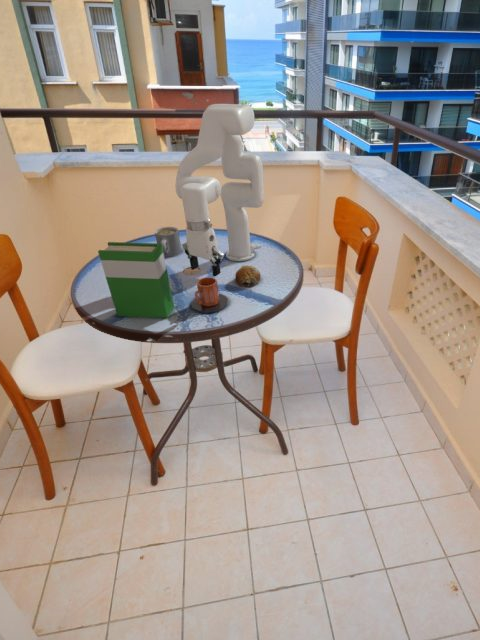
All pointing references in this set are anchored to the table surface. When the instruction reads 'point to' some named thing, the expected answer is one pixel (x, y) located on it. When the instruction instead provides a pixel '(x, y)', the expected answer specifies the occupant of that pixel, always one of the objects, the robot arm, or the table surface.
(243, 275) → the bread roll
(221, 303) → the saucer
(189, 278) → the table surface
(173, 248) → the coffee mug
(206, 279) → the wooden mug
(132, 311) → the hardback book
